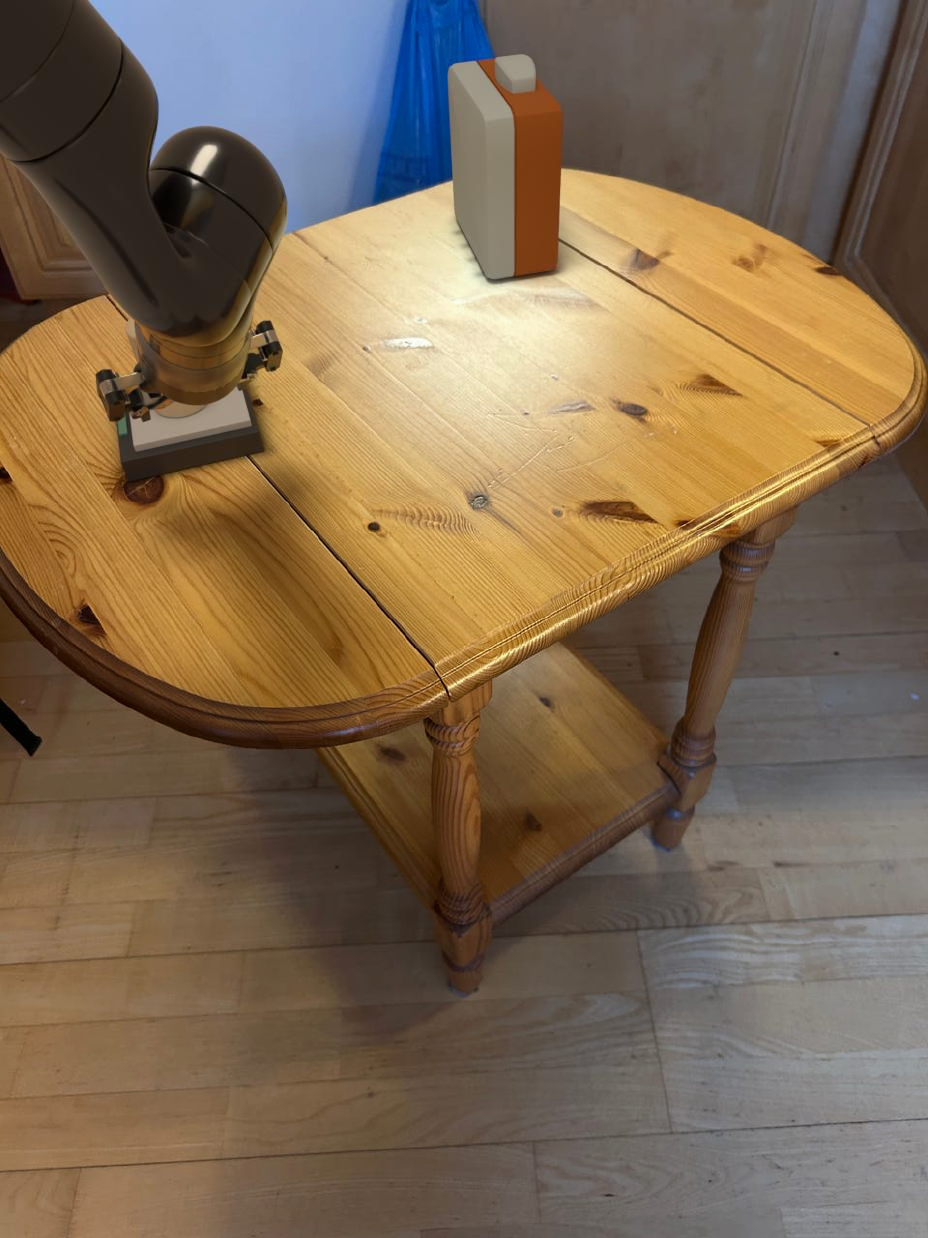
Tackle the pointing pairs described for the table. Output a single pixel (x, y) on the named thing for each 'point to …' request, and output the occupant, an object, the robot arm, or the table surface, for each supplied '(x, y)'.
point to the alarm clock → (506, 164)
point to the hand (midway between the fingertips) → (190, 394)
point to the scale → (188, 437)
